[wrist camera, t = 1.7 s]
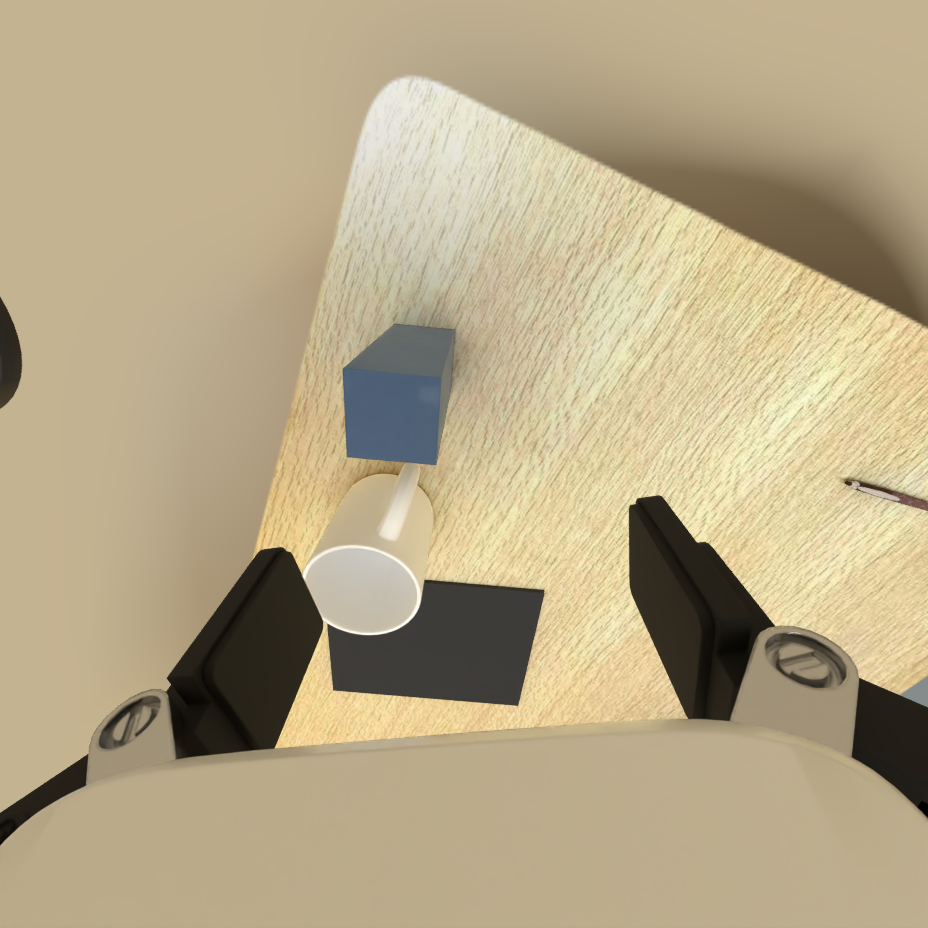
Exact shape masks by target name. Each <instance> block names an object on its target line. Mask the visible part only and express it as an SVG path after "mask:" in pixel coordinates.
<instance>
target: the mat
mask: <svg viewBox="0 0 928 928" xmlns="http://www.w3.org/2000/svg"><path fill="white" fill-rule="evenodd" d="M543 597H544V590H532V589H520V588H509V587H497V586H486V585H474V584H463V583H451V582H440V581H428V580H424V585H423V591H422V597H421V603H420V606H419V609H418V611H417V613H416V614H415V615H414V617H413V618H412V619H411V620H410V621H409V622H408V623H407V624H405V625H404V626H402V627H401V628H399V629H397V630H394V631H392V632H388V633H384V634H379V635H361V634H354V633H349V632H346V631H343V630H340V629H338V628H335V627H333V626H331V625H329V624H328V623H327V625H328V636H329V648H330V659H331V670H332V681H333V690H335V691H347V692H359V693H371V694H383V695H395V696H407V697H419V698H431V699H443V700H455V701H467V702H479V703H492V704H504V705H516V706H518V704H519V700H520V696H521V691H522V687H523V683H524V678H525V674H526V670H527V666H528V661H529V657H530V653H531V649H532V644H533V640H534V636H535V631H536V627H537V623H538V619H539V614H540V610H541V606H542V601H543Z"/></svg>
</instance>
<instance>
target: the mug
mask: <svg viewBox="0 0 928 928" xmlns="http://www.w3.org/2000/svg"><path fill="white" fill-rule="evenodd" d="M419 476H420V466H419V464H418V463H407V462H406V463H405V464H404V466H403V467H402V469H401V471H400V474H399V476H398V475H393V474H376V475H371V476H368V477H365V478H363V479H361V480H359V481H358V482H356V483H355V484H354V485H353V486H352V487H351V488H350V489H349V490H348V492H347V493H346V494H345V496H344V497H343V499H342V501H341V503H340V505H339V506H338V508H337V510H336V512H335V514H334V516H333V517H332V519H331V521H330V523H329V525H328V527H327V528H326V530H325V532H324V534H323V536H322V538H321V539H320V541H319V543H318V545H317V547H316V548H315V550H314V552H313V554H312V556H311V558H310V559H309V561H308V563H307V565H306V567H305V569H304V571H303V574H302V576H303V578H304V580H305V583H306V585H307V587H308V589H309V591H310V593H311V595H312V598H313V600H314V602H315V604H316V606H317V608H318V610H319V613H320V615H321V617H322V620H323V621H325V622H326V623H328V624H329V625H331V626H333V627H335V628H338V629H340V630H343V631H346V632H349V633H354V634H361V635H379V634H384V633H388V632H392V631H394V630H397V629H399V628H401V627H402V626H404V625H405V624H407V623H408V622H409V621H410V620H411V619H412V618H413V617H414V615H415V614H416V613H417V611H418V609H419V606H420V603H421V597H422V591H423V585H424V579H425V573H426V567H427V560H428V554H429V548H430V542H431V536H432V530H433V520H434V517H433V509H432V505H431V502H430V500H429V498H428V497H427V495H426V494H425V492H424V491H423V490H422V489H421V488H420V487H419V486H418V485H417V483H418V480H419Z"/></svg>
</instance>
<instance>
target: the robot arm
mask: <svg viewBox="0 0 928 928" xmlns="http://www.w3.org/2000/svg"><path fill="white" fill-rule="evenodd" d="M629 579H630V589H631V593H632V596H633V598H634V601H635V603H636V605H637V607H638V610H639V612H640V614H641V616H642V618H643V621H644V623H645V625H646V627H647V630H648V632H649V634H650V636H651V638H652V641H653V643H654V645H655V647H656V650H657V652H658V654H659V656H660V658H661V661H662V663H663V665H664V667H665V669H666V672H667V674H668V676H669V678H670V681H671V683H672V685H673V687H674V689H675V692H676V694H677V696H678V698H679V701H680V703H681V705H682V707H683V709H684V712H685V714H686V716H687V718H688V719H657V720H640V721H623V722H605V723H588V724H574V725H561V726H547V727H534V728H521V729H508V730H494V731H481V732H468V733H456V734H443V735H431V736H418V737H406V738H394V739H382V740H370V741H358V742H346V743H334V744H323V745H311V746H300V747H288V748H277V749H274V748H275V746H276V744H277V741H278V739H279V736H280V734H281V731H282V729H283V726H284V724H285V722H286V719H287V717H288V714H289V712H290V709H291V707H292V704H293V702H294V700H295V697H296V695H297V692H298V690H299V687H300V685H301V682H302V680H303V677H304V675H305V673H306V670H307V668H308V665H309V663H310V660H311V658H312V655H313V653H314V650H315V648H316V646H317V643H318V641H319V638H320V636H321V633H322V630H323V620H322V617H321V615H320V613H319V610H318V608H317V606H316V604H315V602H314V600H313V598H312V595H311V593H310V591H309V589H308V587H307V585H306V583H305V580H304V578H303V576H302V574H301V572H300V570H299V568H298V565H297V563H296V561H295V559H294V557H293V555H292V553H291V552H288V551H286V550H285V549H284V548H282V547H278V548H271V549H264V550H261V551H259V552H258V553H257V555H256V556H255V558H254V559H253V560H252V562H251V563H250V564H249V566H248V567H247V569H246V570H245V571H244V573H243V574H242V575H241V577H240V578H239V580H238V581H237V582H236V584H235V585H234V587H233V588H232V589H231V591H230V592H229V593H228V595H227V596H226V597H225V599H224V600H223V602H222V603H221V604H220V606H219V607H218V608H217V610H216V611H215V613H214V614H213V616H212V617H211V618H210V620H209V621H208V622H207V624H206V625H205V626H204V628H203V629H202V630H201V632H200V633H199V635H198V636H197V637H196V639H195V640H194V642H193V643H192V644H191V645H190V647H189V648H188V650H187V651H186V652H185V654H184V655H183V656H182V658H181V659H180V661H179V662H178V663H177V665H176V666H175V667H174V669H173V670H172V672H171V673H170V674H169V676H168V677H167V679H168V681H169V682H170V683H171V686H170V687H169V689H168V690H167V691H166V692H165V691H163V690H161V689H151V690H147V691H144V692H141V693H139V694H137V695H135V696H133V697H131V698H129V699H128V700H126V701H125V702H123V703H122V704H120V705H119V706H118V707H117V708H115V710H113V711H112V712H111V713H110V714H109V715H107V717H106V718H105V719H104V720H103V721H102V723H101V724H100V725H99V726H98V727H97V729H96V731H95V732H94V734H93V736H92V738H91V742H90V745H89V754H87V755H86V756H84V757H83V758H82V759H80V760H79V761H77V762H76V763H74V764H73V765H71V766H70V767H68V768H67V769H65V770H64V771H62V772H61V773H59V774H58V775H56V776H55V777H53V778H52V779H50V780H49V781H47V782H46V783H44V784H43V785H41V786H40V787H38V788H37V789H35V790H34V791H32V792H31V793H29V794H28V795H26V796H25V797H23V798H22V799H20V800H19V801H17V802H16V803H14V804H13V805H11V806H10V807H8V808H7V809H5V810H4V811H2V812H1V813H0V928H928V707H926V706H923V705H921V704H918V703H916V702H914V701H912V700H909V699H907V698H905V697H902V696H900V695H898V694H895V693H893V692H891V691H888V690H886V689H884V688H881V687H879V686H877V685H874V684H872V683H870V682H867V681H865V680H863V679H860V678H859V676H858V670H857V667H856V665H855V664H854V662H853V661H852V659H851V657H850V656H849V655H848V654H847V653H846V652H845V651H844V650H843V649H842V648H840V647H839V646H838V645H837V644H835V643H833V642H832V641H830V640H829V639H827V638H826V637H824V636H822V635H819V634H817V633H815V632H812V631H810V630H806V629H802V628H799V627H794V626H776V627H775V625H774V624H773V623H772V622H771V620H770V619H769V618H768V617H767V615H766V614H765V613H764V611H763V610H762V609H761V608H760V606H759V605H758V604H757V603H756V601H755V600H754V599H753V598H752V596H751V595H750V594H749V593H748V591H747V590H746V589H745V588H744V586H743V585H742V584H741V583H740V581H739V580H738V579H737V578H736V576H735V575H734V574H733V573H732V571H731V570H730V569H729V568H728V566H727V565H726V564H725V562H724V561H723V560H722V559H721V557H720V556H719V555H718V554H717V552H716V551H715V550H714V549H713V547H712V546H710V545H709V544H708V543H706V542H700V543H697V542H696V541H695V539H694V538H693V537H692V535H691V534H690V533H689V532H688V530H687V529H686V528H685V526H684V525H683V524H682V522H681V521H680V520H679V518H678V517H677V516H676V514H675V513H674V512H673V510H672V509H671V508H670V506H669V505H668V504H667V502H666V501H665V500H664V498H663V497H662V496H651V497H644V498H638V499H637V500H636V504H634V505H630V507H629Z"/></svg>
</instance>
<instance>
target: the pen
mask: <svg viewBox="0 0 928 928" xmlns="http://www.w3.org/2000/svg"><path fill="white" fill-rule="evenodd" d="M845 484H846V485H848V486H849V487H850V488H852V489H855V490H858V491H861V492H865V493H868V494H871V495H874V496H877V497H880V498H884V499H887V500H891V501H894V502H898V503H901V504H905V505H909V506H912V507H916V508H919V509H923V510H926V511H928V502H925V501H922V500H919V499H916V498H913V497H909V496H906V495H903V494H900V493H896V492H893V491H890V490H887V489H883V488H879V487H876V486H872V485H868V484H865V483H861V482H857V481H850V482H849V481H846V482H845Z"/></svg>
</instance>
